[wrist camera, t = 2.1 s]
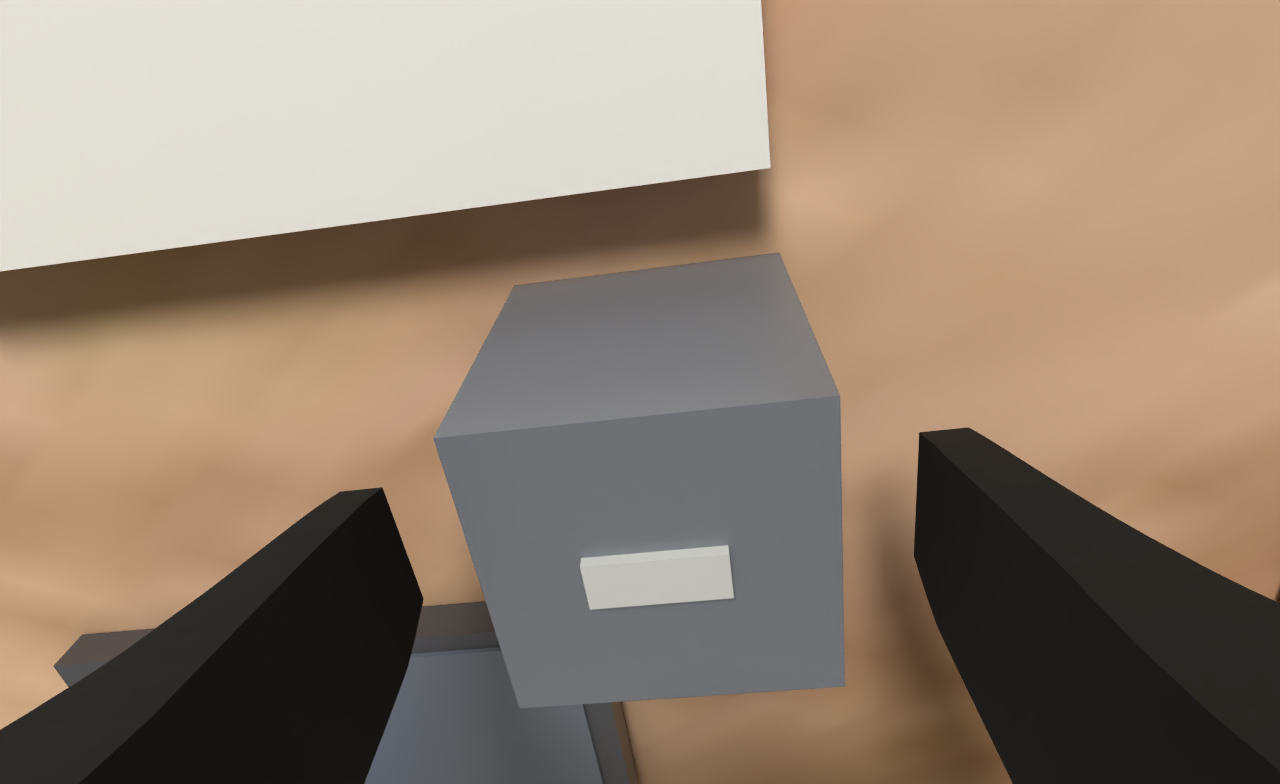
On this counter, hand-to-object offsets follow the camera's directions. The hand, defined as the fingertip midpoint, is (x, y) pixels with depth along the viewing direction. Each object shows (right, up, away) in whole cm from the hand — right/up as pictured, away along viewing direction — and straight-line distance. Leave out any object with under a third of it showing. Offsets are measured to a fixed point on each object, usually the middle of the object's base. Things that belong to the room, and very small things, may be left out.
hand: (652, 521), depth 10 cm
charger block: (0, +2, +3) cm, 4 cm away
